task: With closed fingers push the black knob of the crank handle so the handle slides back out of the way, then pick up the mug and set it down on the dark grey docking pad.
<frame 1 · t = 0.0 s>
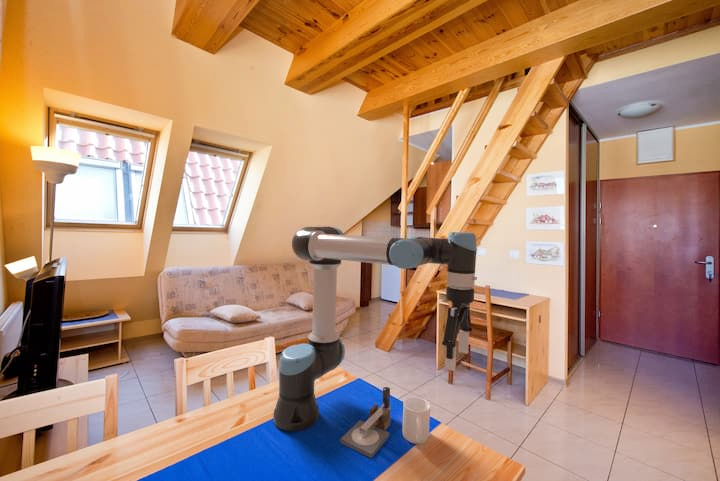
hand: (456, 360, 90), 28 cm above the table, fingers open, 13 cm apart
crank handle: (376, 409, 101), point 6 cm above the table, slide at 0.0 cm
dock pad: (365, 439, 96), on the table
mug: (416, 440, 97), on the table
pin mount: (379, 424, 104), on the table
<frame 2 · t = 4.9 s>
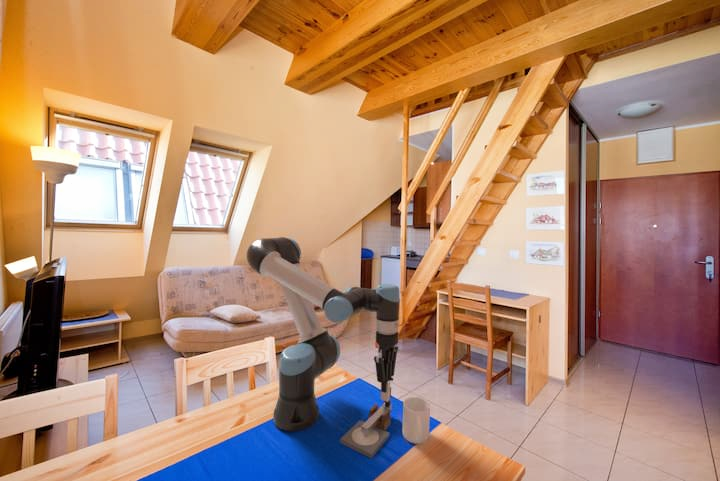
hand: (385, 399, 106), 7 cm above the table, fingers closed
crank handle: (377, 408, 102), point 6 cm above the table, slide at 0.8 cm, touching gripper
everything else where it was.
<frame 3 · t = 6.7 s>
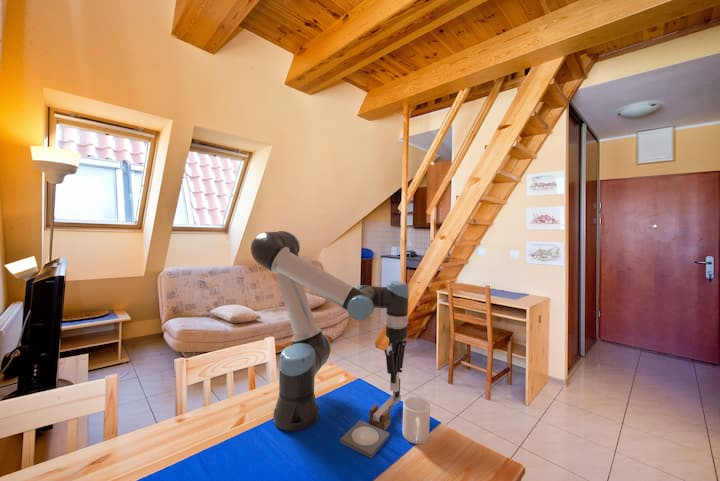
hand: (394, 390, 112), 7 cm above the table, fingers closed
crank handle: (387, 398, 108), point 6 cm above the table, slide at 8.1 cm, touching gripper
everything else where it was.
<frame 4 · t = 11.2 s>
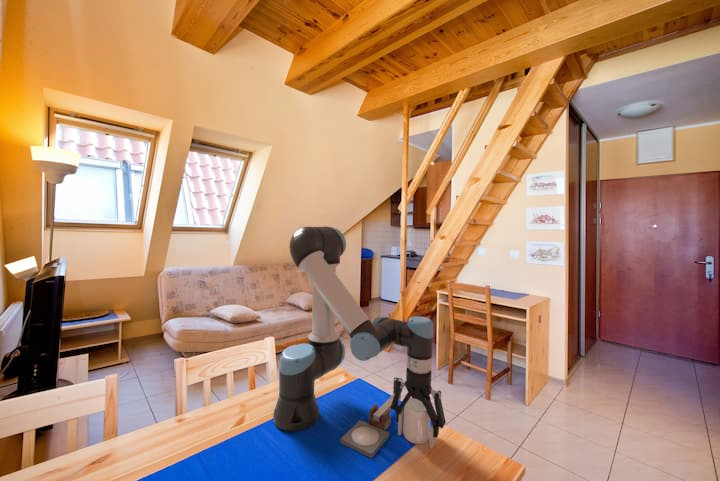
hand: (416, 438, 97), 0 cm above the table, fingers open, 10 cm apart
crank handle: (387, 398, 108), point 6 cm above the table, slide at 8.1 cm
mug: (416, 440, 97), on the table, touching gripper
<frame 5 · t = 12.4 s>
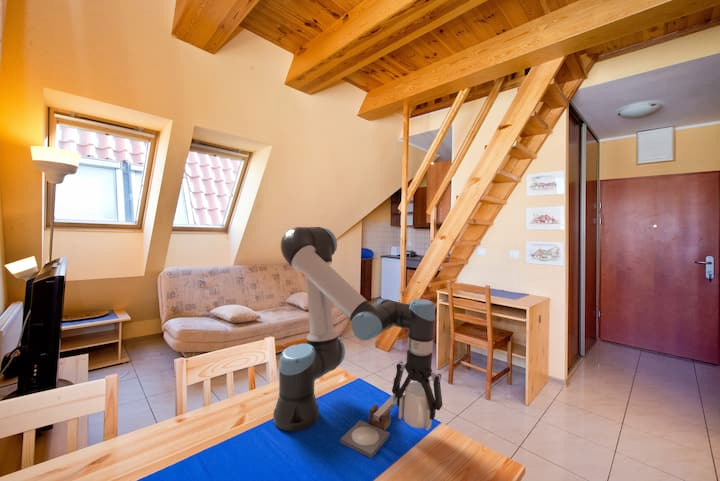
hand: (414, 421, 97), 5 cm above the table, fingers closed on mug, 8 cm apart
mug: (417, 424, 97), point 5 cm above the table, touching gripper
everything else where it was.
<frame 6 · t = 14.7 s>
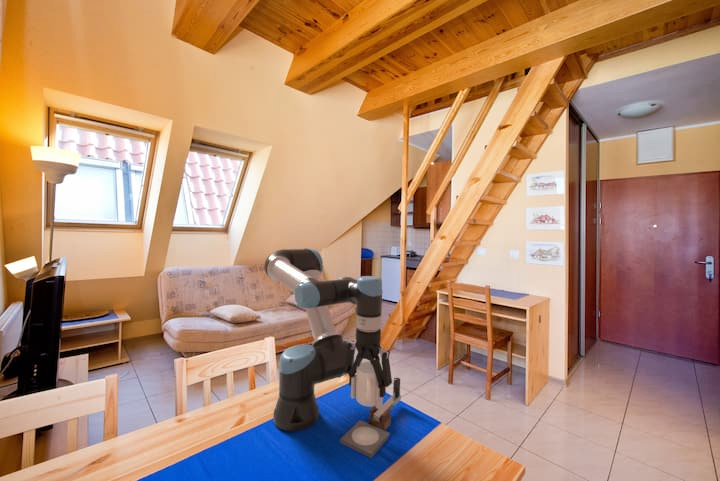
hand: (366, 401, 96), 12 cm above the table, fingers closed on mug, 8 cm apart
mug: (368, 403, 95), point 12 cm above the table, touching gripper
everything else where it was.
when the fingers open (2 cm above the table, at t = 16.9 s): mug stays where it is, resting on dock pad.
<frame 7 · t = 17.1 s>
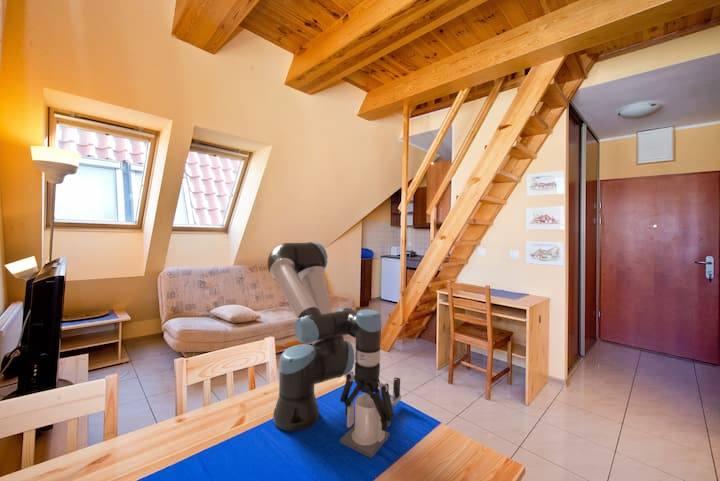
hand: (365, 432, 96), 2 cm above the table, fingers open, 10 cm apart
mug: (367, 437, 96), point 1 cm above the table, touching dock pad
everything else where it was.
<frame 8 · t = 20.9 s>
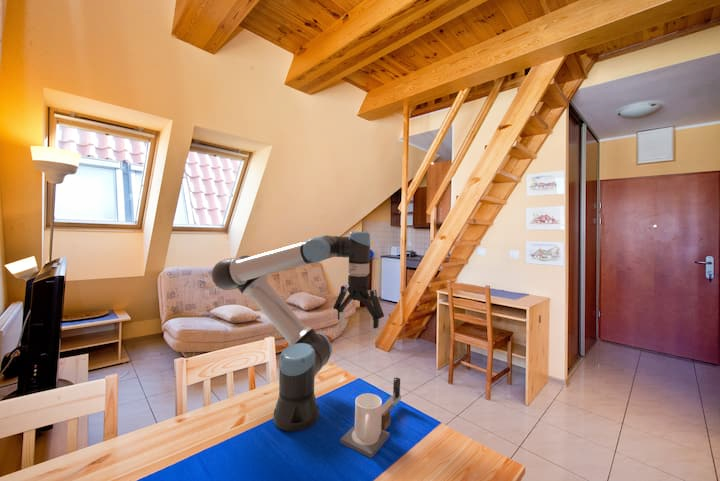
hand: (357, 332, 114), 27 cm above the table, fingers open, 13 cm apart
nothing on the table moved.
at the end: crank handle slide at 8.1 cm; mug inside the target area on the dock pad (0.8 cm from its centre), point 1.1 cm above the dock pad's base; mug tilted 0° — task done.
